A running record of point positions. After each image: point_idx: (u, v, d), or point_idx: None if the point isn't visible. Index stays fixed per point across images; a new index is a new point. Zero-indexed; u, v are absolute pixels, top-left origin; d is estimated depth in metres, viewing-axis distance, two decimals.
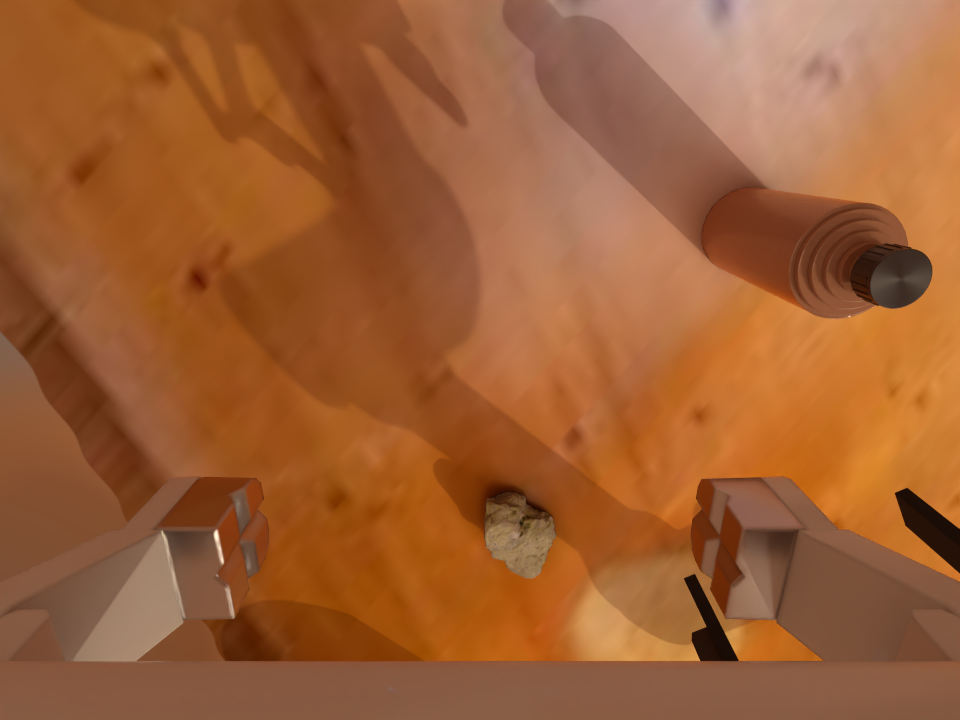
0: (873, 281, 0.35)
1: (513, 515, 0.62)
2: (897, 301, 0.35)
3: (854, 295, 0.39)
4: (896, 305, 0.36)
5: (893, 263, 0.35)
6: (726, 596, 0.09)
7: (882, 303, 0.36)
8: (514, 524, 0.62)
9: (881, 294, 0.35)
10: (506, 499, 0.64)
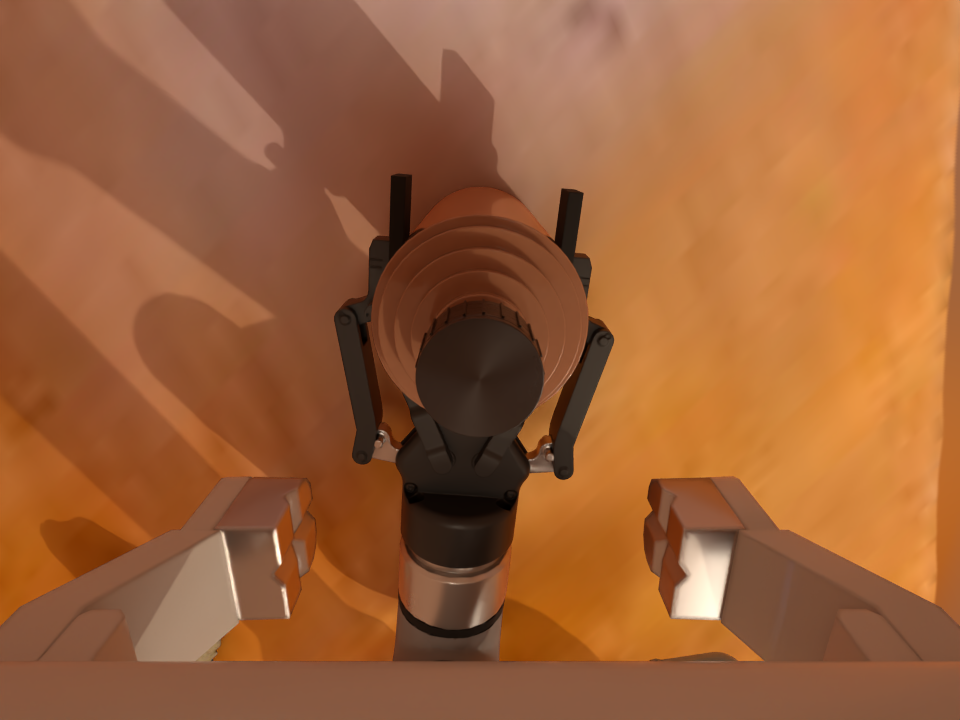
0: (422, 376, 0.16)
1: None
2: (477, 424, 0.17)
3: None
4: (476, 431, 0.17)
5: (459, 345, 0.16)
6: (670, 596, 0.09)
7: (447, 423, 0.17)
8: None
9: (442, 405, 0.17)
10: None
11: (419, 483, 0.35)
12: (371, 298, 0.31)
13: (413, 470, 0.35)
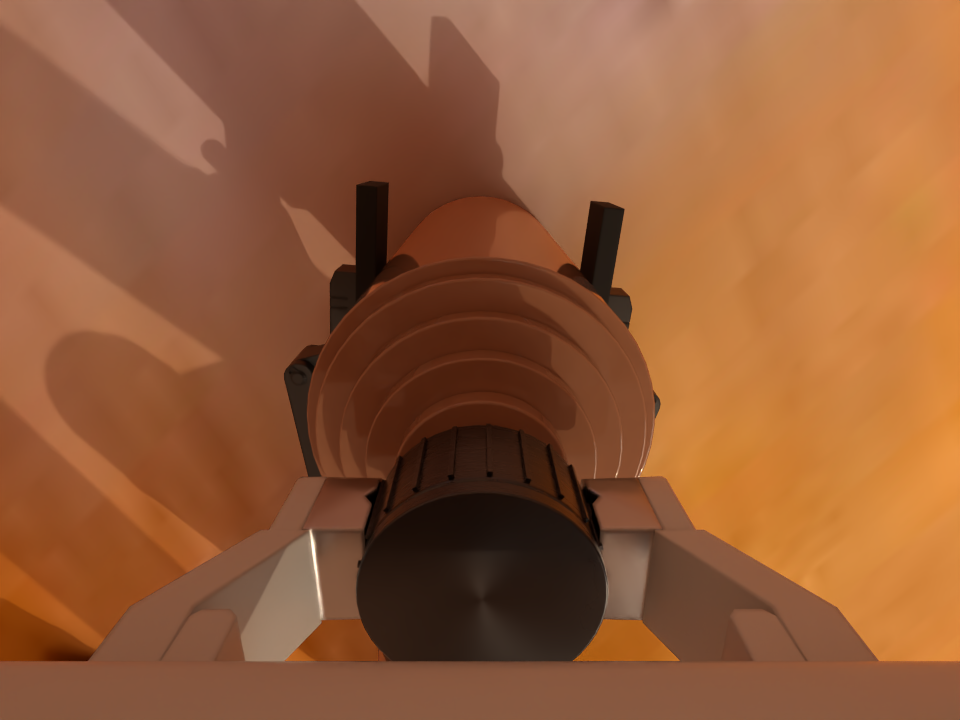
0: (368, 593, 0.08)
1: None
2: None
3: None
4: None
5: (440, 540, 0.08)
6: None
7: None
8: None
9: (409, 641, 0.09)
10: None
11: None
12: None
13: None
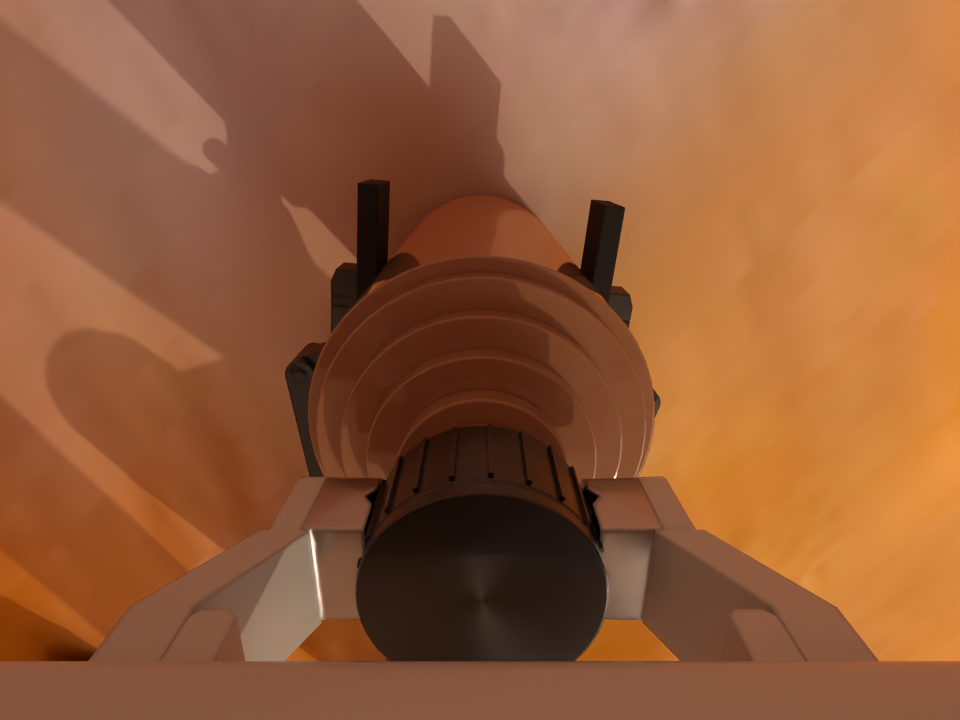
0: None
1: None
2: (576, 611, 0.08)
3: None
4: (593, 613, 0.08)
5: (407, 627, 0.09)
6: None
7: (568, 655, 0.09)
8: None
9: None
10: None
11: None
12: None
13: None
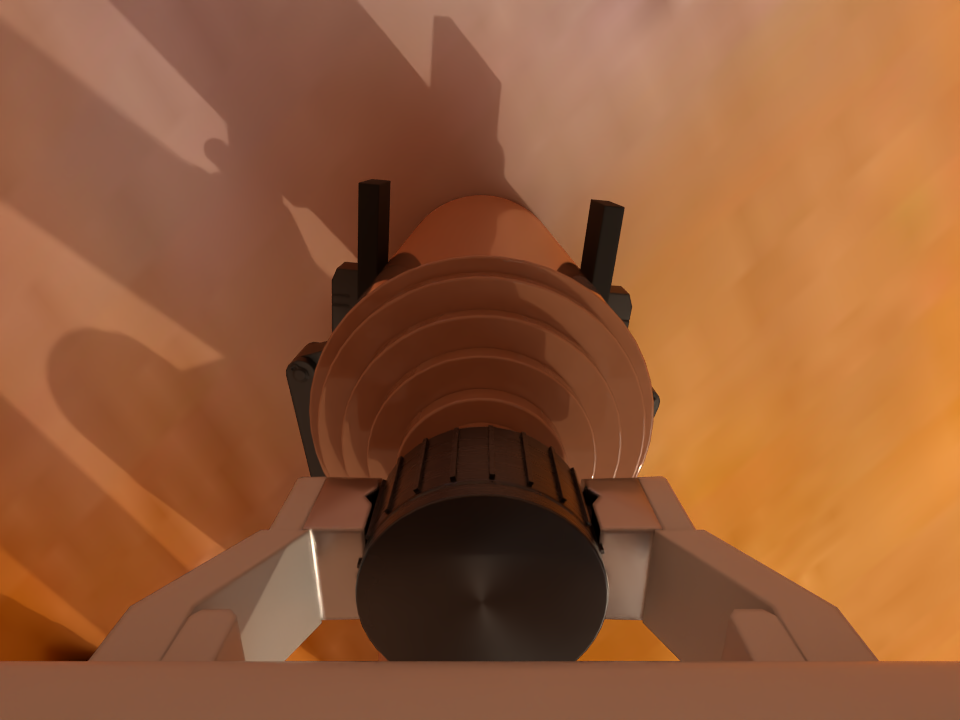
0: (590, 621, 0.08)
1: None
2: (503, 525, 0.08)
3: None
4: (508, 509, 0.08)
5: None
6: None
7: (567, 532, 0.08)
8: None
9: (567, 569, 0.08)
10: None
11: None
12: None
13: None
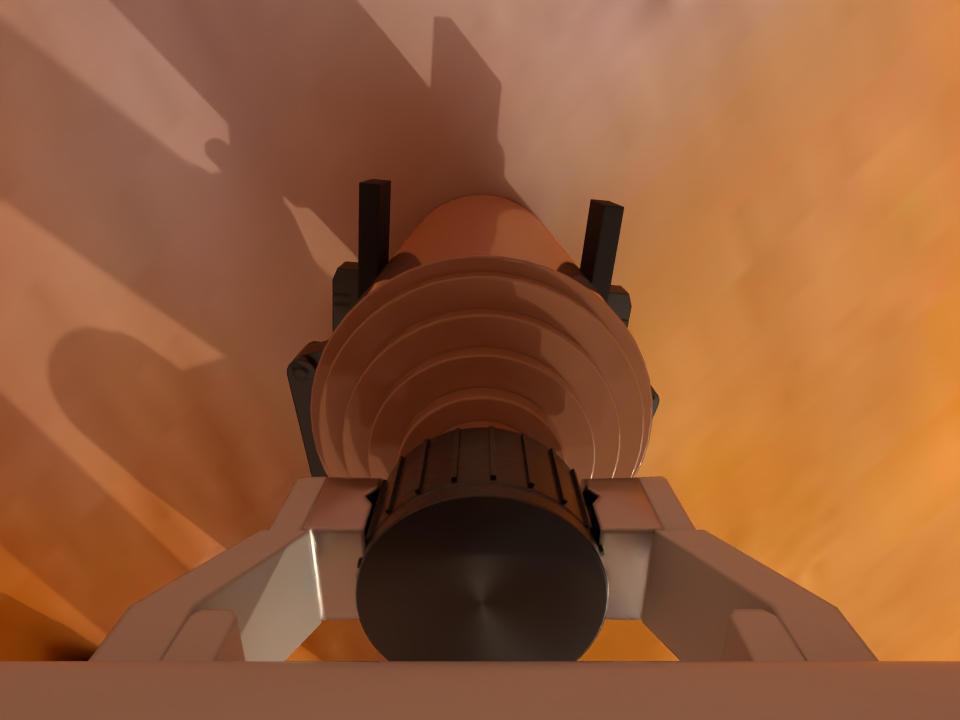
0: (519, 512, 0.08)
1: None
2: (388, 581, 0.08)
3: None
4: (371, 576, 0.08)
5: (563, 587, 0.08)
6: None
7: (401, 530, 0.08)
8: None
9: (445, 532, 0.08)
10: None
11: None
12: None
13: None
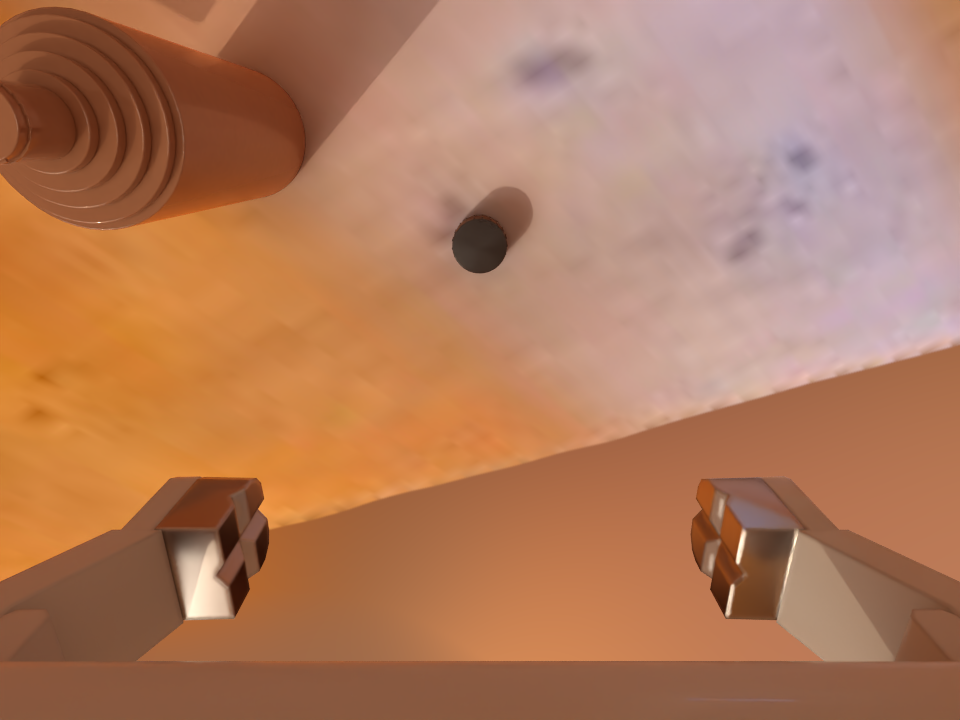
0: (468, 267, 0.40)
1: None
2: (497, 255, 0.39)
3: None
4: (501, 257, 0.39)
5: (461, 247, 0.39)
6: (725, 596, 0.09)
7: (492, 267, 0.40)
8: None
9: (483, 265, 0.40)
10: None
11: None
12: None
13: None
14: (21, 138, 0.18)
